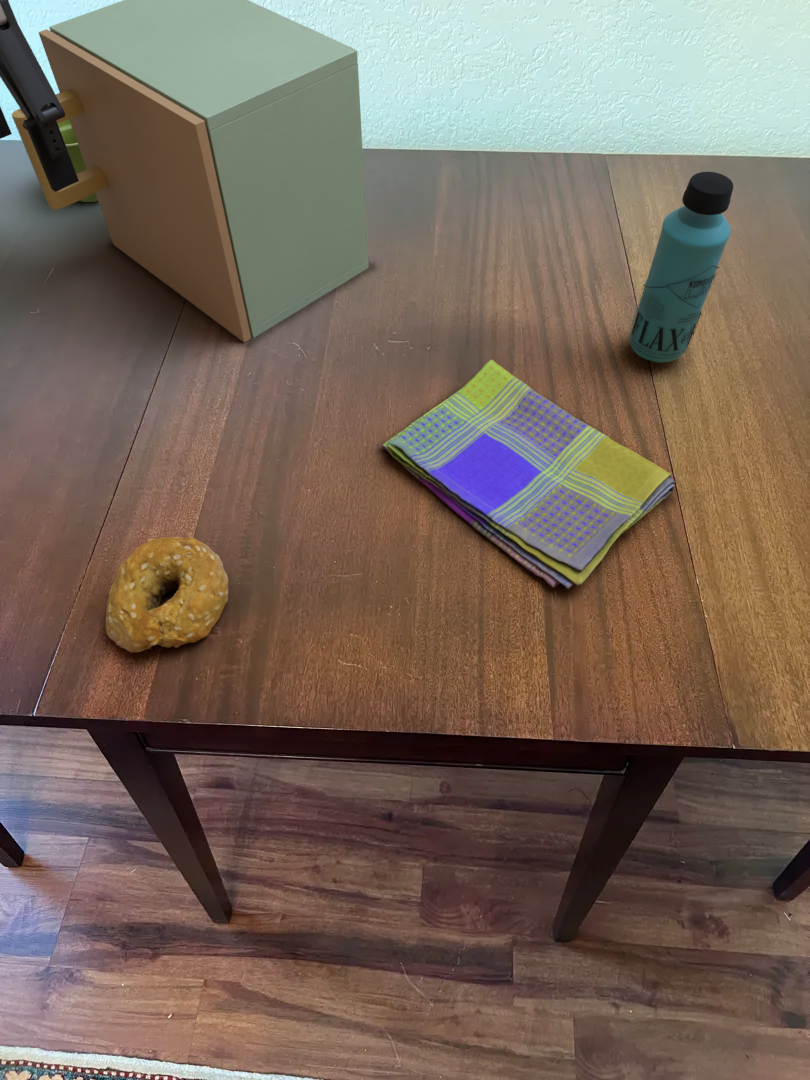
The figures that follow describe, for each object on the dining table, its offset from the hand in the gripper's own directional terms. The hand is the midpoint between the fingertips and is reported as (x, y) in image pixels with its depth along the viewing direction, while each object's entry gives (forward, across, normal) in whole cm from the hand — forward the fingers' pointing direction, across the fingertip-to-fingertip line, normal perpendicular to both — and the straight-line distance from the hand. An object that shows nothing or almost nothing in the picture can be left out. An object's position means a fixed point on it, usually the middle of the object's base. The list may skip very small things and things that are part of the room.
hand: (31, 160), depth 81 cm
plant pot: (+15, +16, -12) cm, 25 cm away
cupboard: (+15, -9, -17) cm, 25 cm away
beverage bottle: (+16, -56, -37) cm, 69 cm away
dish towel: (+16, -57, -14) cm, 61 cm away
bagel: (+16, -45, +19) cm, 51 cm away
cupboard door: (+15, -9, -4) cm, 18 cm away
